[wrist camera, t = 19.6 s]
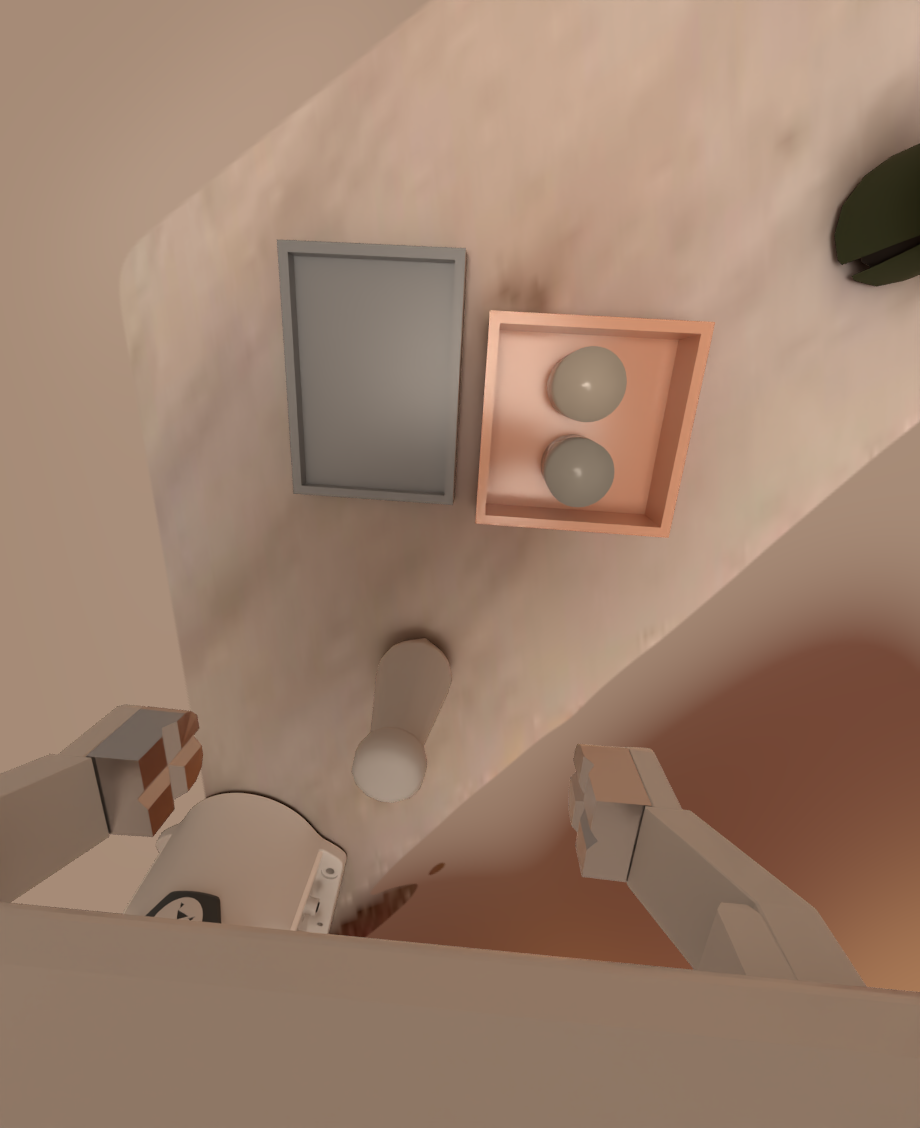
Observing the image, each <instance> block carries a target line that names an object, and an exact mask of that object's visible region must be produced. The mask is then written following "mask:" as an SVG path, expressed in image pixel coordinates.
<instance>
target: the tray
mask: <svg viewBox="0 0 920 1128" xmlns="http://www.w3.org/2000/svg"><path fill="white" fill-rule="evenodd" d="M277 248H278V264H279V279H280V294H281V309H282V325H283V340H284V355H285V371H286V386H287V401H288V417H289V432H290V447H291V462H292V478H293V493H294V494H305V495H319V496H334V497H348V498H362V499H376V500H390V501H404V502H418V503H432V504H446V505H453V502H454V495H455V476H456V457H457V438H458V419H459V400H460V381H461V362H462V343H463V324H464V305H465V286H466V267H467V251H466V248H448V247H426V246H404V245H383V244H361V243H340V242H318V241H297V240H277Z"/></svg>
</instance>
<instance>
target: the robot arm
mask: <svg viewBox="0 0 920 1128" xmlns="http://www.w3.org/2000/svg"><path fill="white" fill-rule="evenodd" d="M199 728H200V727H199V722H198V717H197V714H195V713H194V712H192V711H186V710H176V709H167V708H157V707H149V706H148V707H145V706H135V705H122V706H117V707H116V708H115V709H114V710H112V711H111V712H110V713H109V714H107V715H106V716H105V717H104V718H102V719H101V720H100V721H99V722H98V723H96V724H95V725H94V726H92V727H91V728H90V729H89V730H88V731H86V732H85V733H84V734H83V735H81V736H80V737H79V738H78V739H76V740H75V741H74V742H73V743H72V744H70V745H69V746H68V747H66V748H65V749H64V750H63V751H62V752H60V753H59V754H58V755H55V754H49V755H47V756H44V757H41V758H39V759H36V760H34V761H32V762H29V763H26V764H24V765H21V766H19V767H16V768H14V769H11V770H9V771H6V772H4V773H1V774H0V1128H920V992H912V991H902V990H892V989H882V988H871V987H867V986H866V985H865V983H864V982H863V981H862V979H861V977H860V976H859V974H858V973H857V971H856V970H855V968H854V967H853V965H852V963H851V962H850V960H849V959H848V957H847V956H846V954H845V953H844V951H843V950H842V948H841V947H840V945H839V944H838V942H837V941H836V939H835V937H834V936H833V934H832V933H831V931H830V930H829V928H828V927H827V925H826V924H825V922H824V921H823V919H822V917H821V916H820V914H819V913H818V911H817V910H816V909H815V908H814V907H812V906H811V905H810V904H809V903H807V902H806V901H805V900H803V899H802V898H801V897H800V896H798V895H797V894H796V893H795V892H793V891H792V890H791V889H789V888H788V887H787V886H786V885H784V884H783V883H782V882H781V881H779V880H778V879H777V878H775V877H774V876H773V875H771V874H770V873H769V872H768V871H766V870H765V869H764V868H763V867H761V866H760V865H759V864H758V863H756V862H755V861H754V860H752V859H751V858H750V857H749V856H747V855H746V854H745V853H744V852H742V851H741V850H739V849H738V848H737V847H736V846H735V845H733V844H732V843H731V842H729V841H728V840H727V839H726V838H724V837H723V836H722V835H721V834H719V833H718V832H717V831H716V830H714V829H713V828H712V827H710V826H709V825H708V824H707V823H705V822H704V821H703V820H701V819H700V818H699V817H698V816H696V815H695V814H694V813H693V812H691V811H690V810H682V808H681V806H680V804H679V802H678V800H677V798H676V796H675V794H674V792H673V790H672V788H671V786H670V784H669V782H668V780H667V778H666V776H665V774H664V772H663V770H662V768H661V765H660V764H659V761H658V759H657V757H656V755H655V753H654V751H652V750H651V749H649V748H636V747H625V748H623V747H611V746H598V745H585V744H577V746H576V749H575V753H574V758H573V761H574V765H575V769H576V772H575V774H573V775H572V776H571V777H570V784H569V797H568V798H569V799H568V806H569V815H570V821H571V826H572V827H573V828H574V829H575V830H576V831H577V832H578V833H577V839H576V845H575V846H576V851H577V855H578V860H579V865H580V870H581V874H582V877H589V878H597V879H606V880H613V881H621V882H627V885H628V886H629V888H630V889H631V890H632V892H633V893H634V894H635V895H636V897H637V898H638V899H639V901H640V902H641V903H642V904H643V906H644V907H645V908H646V909H647V911H648V912H649V913H650V914H651V916H652V917H653V918H654V919H655V921H656V922H657V923H658V924H659V926H660V927H661V928H662V930H663V931H664V932H665V933H666V934H667V936H668V937H669V938H670V939H671V941H672V942H673V943H674V945H675V946H676V947H677V948H678V950H679V951H680V952H681V953H682V955H683V956H684V957H685V959H686V960H687V961H688V962H689V964H690V965H691V966H692V967H693V969H694V970H688V969H678V968H668V967H658V966H648V965H638V964H628V963H617V962H606V961H596V960H587V959H576V958H566V957H556V956H546V955H536V954H526V953H515V952H506V951H505V952H504V951H495V950H484V949H475V948H465V947H455V946H445V945H435V944H424V943H414V942H403V941H393V940H384V939H374V938H363V937H353V936H343V935H333V934H329V931H330V927H331V923H332V919H333V915H334V910H335V906H336V902H337V898H338V894H339V889H340V885H341V881H342V877H343V872H344V868H345V864H346V860H347V857H346V854H345V852H344V851H343V850H341V849H340V848H339V847H337V846H336V845H334V844H332V843H330V842H329V841H327V840H325V839H323V838H322V837H321V836H320V835H319V834H318V833H317V832H316V831H315V830H314V829H313V828H312V827H311V826H310V824H309V823H308V822H307V821H306V820H305V819H304V818H302V817H301V816H300V815H299V814H297V813H296V812H295V811H293V810H292V809H290V808H288V807H287V806H285V805H283V804H281V803H279V802H276V801H274V800H271V799H269V798H266V797H262V796H258V795H253V794H247V793H225V794H219V795H215V796H212V797H209V798H206V799H204V800H202V801H201V802H199V803H198V804H196V805H195V806H194V807H193V808H192V809H191V810H190V811H189V812H188V814H187V815H186V817H185V818H184V819H183V820H182V821H181V822H180V823H179V824H177V825H174V826H172V827H170V828H168V829H166V830H164V831H163V832H162V833H161V835H160V837H159V838H158V840H157V842H156V848H157V850H158V852H159V855H158V856H157V858H156V860H155V861H154V863H153V864H152V866H151V868H150V869H149V871H148V872H147V874H146V876H145V877H144V879H143V881H142V882H141V884H140V885H139V887H138V889H137V890H136V892H135V894H134V895H133V897H132V899H131V900H130V902H129V903H128V905H127V907H126V909H125V910H124V912H123V914H118V913H108V912H98V911H88V910H77V909H68V908H57V907H47V906H37V905H27V904H17V903H11V902H12V901H14V900H15V899H16V898H18V897H20V896H21V895H22V894H24V893H26V892H27V891H29V890H30V889H32V888H33V887H35V886H36V885H38V884H39V883H41V882H42V881H43V880H45V879H47V878H48V877H50V876H51V875H53V874H54V873H55V872H57V871H58V870H60V869H61V868H63V867H64V866H66V865H67V864H69V863H70V862H72V861H73V860H75V859H76V858H78V857H79V856H81V855H82V854H84V853H85V852H87V851H88V850H90V849H91V848H93V847H94V846H96V845H97V844H99V843H100V842H102V841H103V840H105V839H106V838H108V837H109V834H115V835H116V834H117V835H131V836H149V837H153V836H154V835H155V834H156V832H157V831H158V830H159V828H160V827H161V826H162V825H163V823H164V822H165V821H166V819H167V818H168V817H169V816H170V814H171V813H172V812H173V810H174V799H176V798H178V797H180V796H181V795H183V794H185V793H187V792H188V791H189V790H190V788H191V787H192V786H193V784H194V783H195V782H196V780H197V777H198V775H199V772H200V770H201V767H202V761H203V750H202V745H201V744H200V742H199V741H198V740H197V739H196V738H195V737H194V735H195V733H196V732H197V731H198V729H199Z"/></svg>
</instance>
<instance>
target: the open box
mask: <svg viewBox="0 0 920 1128" xmlns="http://www.w3.org/2000/svg"><path fill="white" fill-rule="evenodd" d="M714 325H715V322H702V321H682V320H663V319H644V318H625V317H606V316H587V315H568V314H548V313H529V312H510V311H491V310H490V318H489V332H488V347H487V361H486V376H485V390H484V404H483V419H482V433H481V448H480V462H479V476H478V491H477V505H476V520H475V524H488V525H502V526H515V527H529V528H543V529H557V530H571V531H584V532H598V533H612V534H626V535H640V536H653V537H667V538H668V537H669V533H670V528H671V524H672V519H673V514H674V510H675V505H676V501H677V496H678V491H679V487H680V482H681V477H682V473H683V468H684V464H685V459H686V454H687V450H688V445H689V440H690V436H691V431H692V427H693V422H694V417H695V413H696V408H697V404H698V399H699V394H700V390H701V385H702V380H703V376H704V371H705V367H706V362H707V357H708V353H709V348H710V343H711V339H712V334H713V330H714ZM589 346H598V347H603V348H606V349H608V350H610V351H612V352H613V353H614V354H616V355H617V356H618V358H619V359H620V360H621V362H622V363H623V366H624V368H625V371H626V377H627V385H626V391H625V394H624V397H623V399H622V401H621V403H620V404H619V406H618V407H617V408H616V409H615V410H614V411H613V412H612V413H611V414H610V415H608V416H607V417H605V418H603V419H601V420H598V421H594V422H580V421H576V420H573V419H571V418H568V417H565V416H563V415H561V414H560V413H558V412H557V411H556V410H555V409H554V408H553V406H552V405H551V403H550V401H549V398H548V394H547V382H548V378H549V375H550V373H551V371H552V369H553V367H554V366H555V365H556V363H557V362H558V361H559V360H561V359H562V358H563V357H565V356H567V355H569V354H571V353H573V352H575V351H577V350H579V349H581V348H584V347H589ZM568 434H577V435H581V436H584V437H586V438H588V439H590V440H592V441H594V442H596V443H598V444H599V445H601V446H602V447H604V448H605V449H606V450H607V451H608V453H609V454H610V456H611V458H612V460H613V463H614V479H613V483H612V485H611V487H610V489H609V491H608V492H607V493H606V495H605V496H604V497H603V498H601V499H600V500H599V501H597V502H596V503H594V504H592V505H589V506H585V507H571V506H567V505H565V504H563V503H561V502H559V501H558V500H557V499H556V498H555V497H554V496H553V495H552V493H551V492H550V490H549V488H548V486H547V484H546V482H545V481H544V479H543V476H542V473H541V459H542V455H543V453H544V451H545V449H546V448H547V447H548V445H549V444H550V443H551V442H552V441H554V440H555V439H557V438H559V437H561V436H564V435H568Z"/></svg>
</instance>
